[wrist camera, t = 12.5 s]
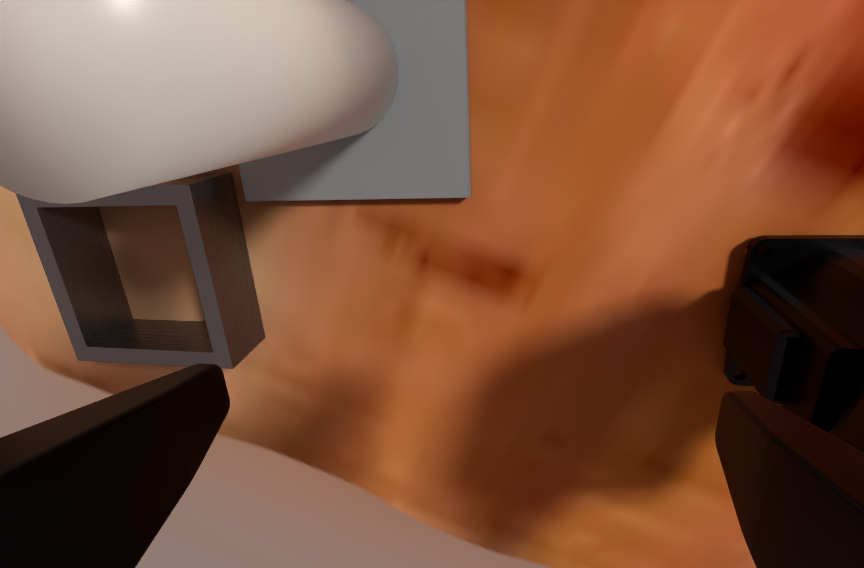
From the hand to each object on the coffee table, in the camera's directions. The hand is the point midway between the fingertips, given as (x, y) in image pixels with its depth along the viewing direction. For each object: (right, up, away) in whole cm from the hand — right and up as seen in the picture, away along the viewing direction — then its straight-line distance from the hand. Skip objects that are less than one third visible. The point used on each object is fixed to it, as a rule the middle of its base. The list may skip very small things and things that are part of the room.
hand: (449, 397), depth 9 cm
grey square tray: (-13, +3, +16) cm, 21 cm away
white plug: (-4, +10, +10) cm, 15 cm away
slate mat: (-4, +10, +11) cm, 16 cm away
